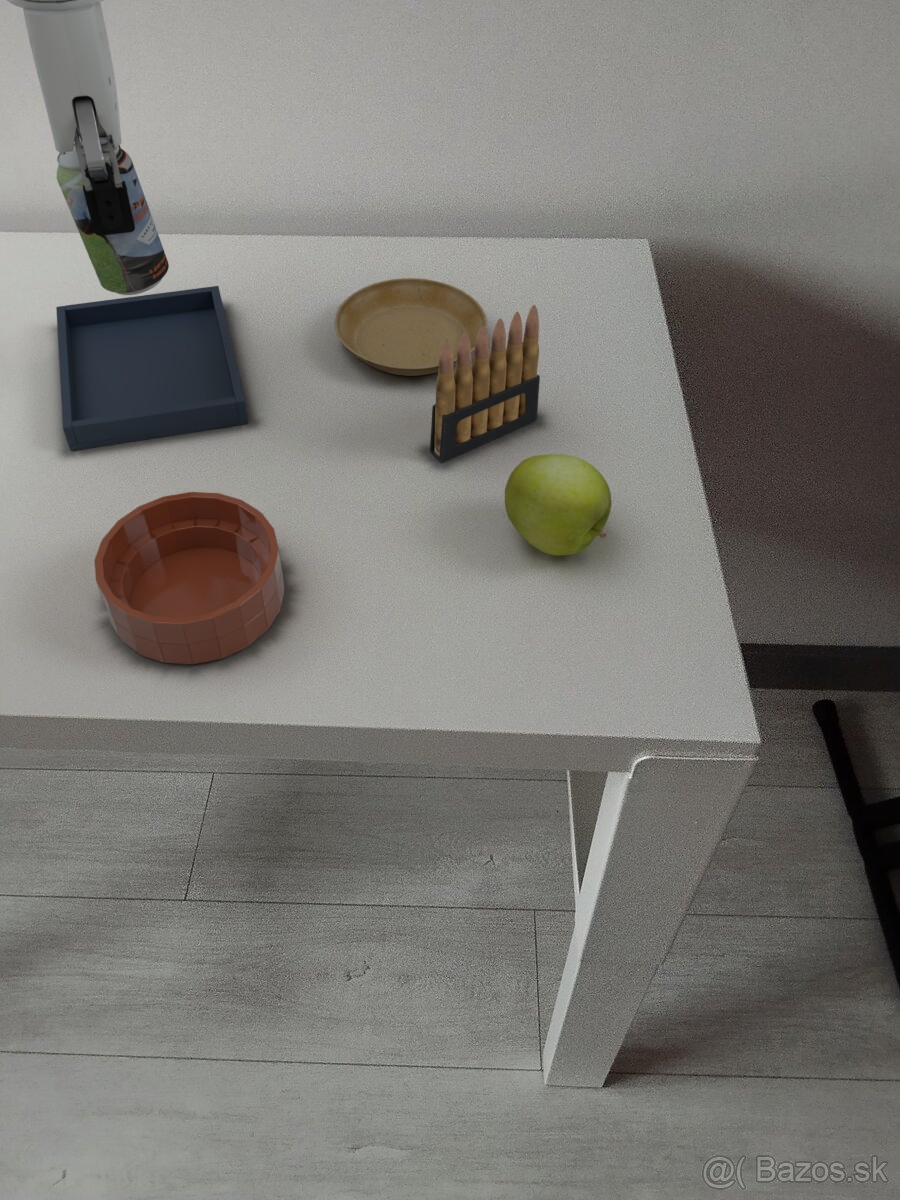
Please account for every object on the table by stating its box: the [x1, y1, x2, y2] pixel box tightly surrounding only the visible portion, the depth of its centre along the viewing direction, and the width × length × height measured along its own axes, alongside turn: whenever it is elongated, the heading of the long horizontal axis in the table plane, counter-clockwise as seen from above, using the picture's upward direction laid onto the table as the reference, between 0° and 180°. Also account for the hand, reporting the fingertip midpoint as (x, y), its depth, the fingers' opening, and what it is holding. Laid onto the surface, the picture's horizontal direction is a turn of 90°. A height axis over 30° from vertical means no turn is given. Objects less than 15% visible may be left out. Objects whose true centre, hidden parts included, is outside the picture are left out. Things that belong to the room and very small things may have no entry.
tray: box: [55, 285, 249, 452], centre depth 97 cm, size 16×19×3 cm
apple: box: [504, 453, 612, 556], centre depth 82 cm, size 8×9×8 cm
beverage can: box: [56, 137, 170, 296], centre depth 86 cm, size 6×7×12 cm
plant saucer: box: [333, 277, 488, 377], centre depth 101 cm, size 15×15×3 cm
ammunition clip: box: [429, 304, 541, 464], centre depth 89 cm, size 11×2×12 cm, turn 125°
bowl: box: [93, 491, 286, 665], centre depth 78 cm, size 13×13×5 cm
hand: (112, 208), depth 86 cm, fingers closed on beverage can, 6 cm apart
